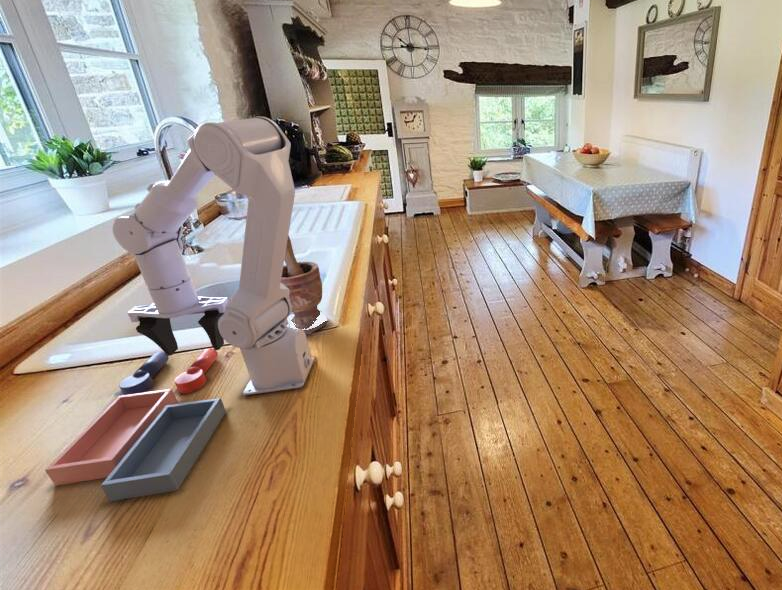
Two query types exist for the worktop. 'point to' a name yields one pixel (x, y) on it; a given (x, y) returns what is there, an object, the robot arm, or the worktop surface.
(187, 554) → the worktop surface
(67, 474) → the red bin
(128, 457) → the blue bin
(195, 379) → the red rubber stamp
